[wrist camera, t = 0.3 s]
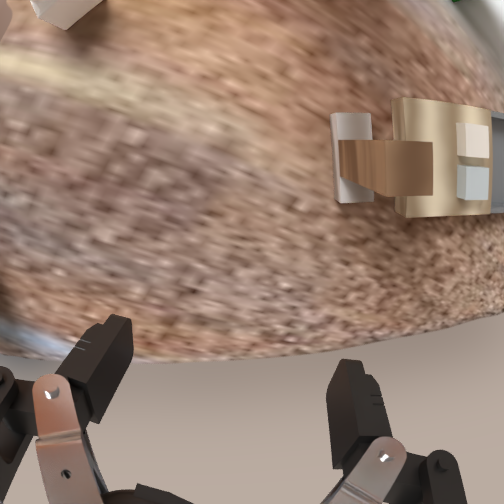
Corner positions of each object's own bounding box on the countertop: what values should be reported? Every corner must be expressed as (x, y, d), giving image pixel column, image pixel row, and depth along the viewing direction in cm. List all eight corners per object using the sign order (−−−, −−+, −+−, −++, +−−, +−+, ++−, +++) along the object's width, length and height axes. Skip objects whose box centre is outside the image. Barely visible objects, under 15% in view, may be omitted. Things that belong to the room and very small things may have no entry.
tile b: (456, 196, 33) (465, 200, 31) (457, 164, 32) (466, 166, 30) (478, 196, 33) (487, 199, 31) (479, 165, 31) (489, 167, 30)
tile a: (457, 155, 31) (466, 156, 29) (455, 122, 30) (465, 122, 28) (479, 156, 31) (489, 158, 29) (478, 126, 30) (488, 126, 28)
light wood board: (394, 211, 37) (406, 217, 34) (390, 100, 33) (402, 96, 29) (475, 208, 37) (490, 214, 33) (475, 110, 32) (490, 109, 29)
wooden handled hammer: (334, 198, 37) (385, 237, 22) (329, 114, 34) (382, 97, 18) (365, 197, 37) (430, 234, 22) (361, 115, 33) (430, 102, 18)
